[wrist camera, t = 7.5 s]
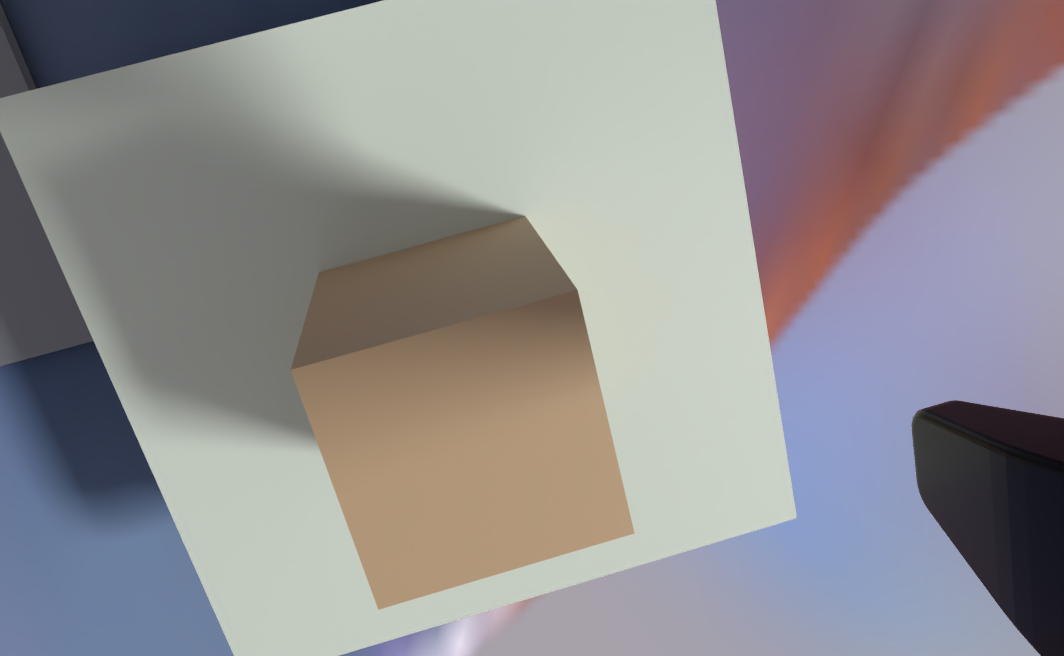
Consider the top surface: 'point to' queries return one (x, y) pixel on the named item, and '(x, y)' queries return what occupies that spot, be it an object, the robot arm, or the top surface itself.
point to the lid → (422, 303)
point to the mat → (28, 249)
